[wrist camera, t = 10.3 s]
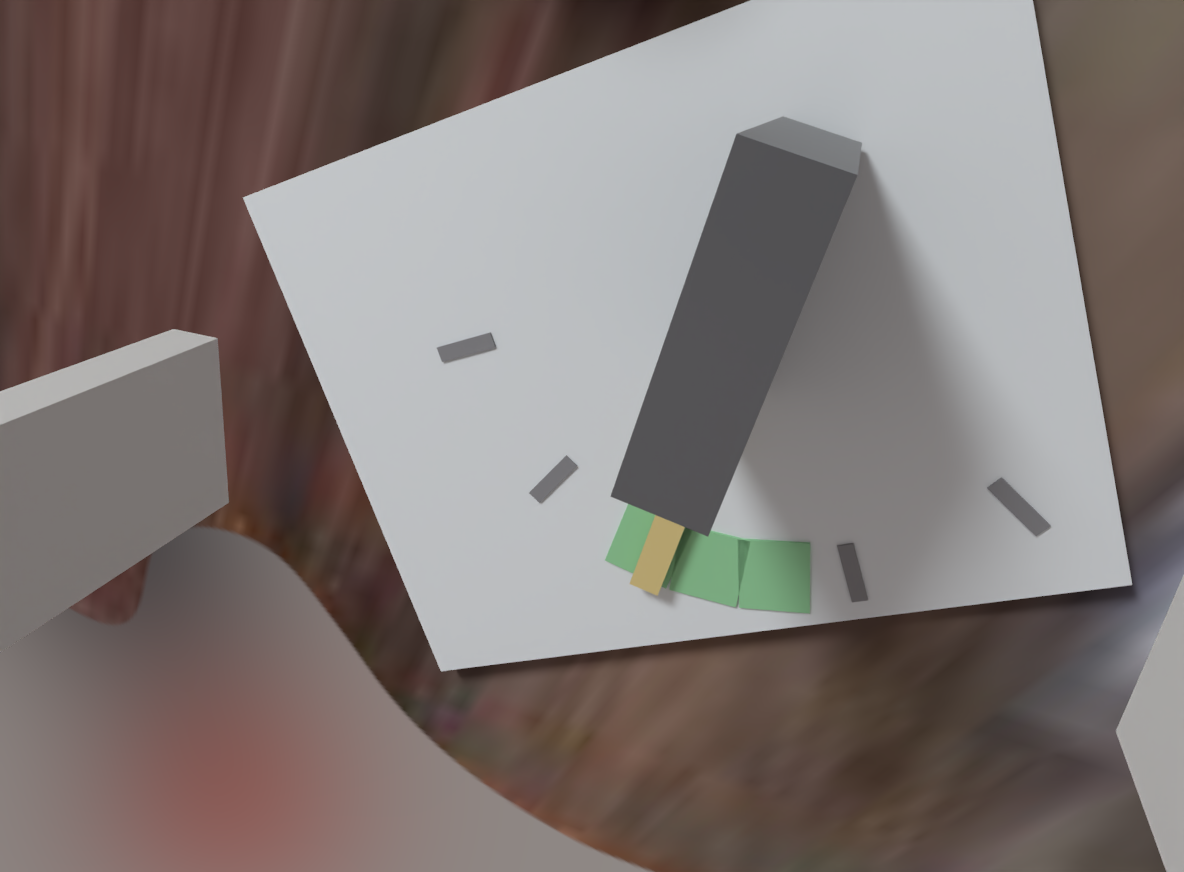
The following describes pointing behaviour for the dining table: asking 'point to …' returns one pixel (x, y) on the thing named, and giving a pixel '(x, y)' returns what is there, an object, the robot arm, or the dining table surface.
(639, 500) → the gray bar
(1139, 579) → the dining table surface
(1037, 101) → the board
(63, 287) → the dining table surface
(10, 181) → the dining table surface
